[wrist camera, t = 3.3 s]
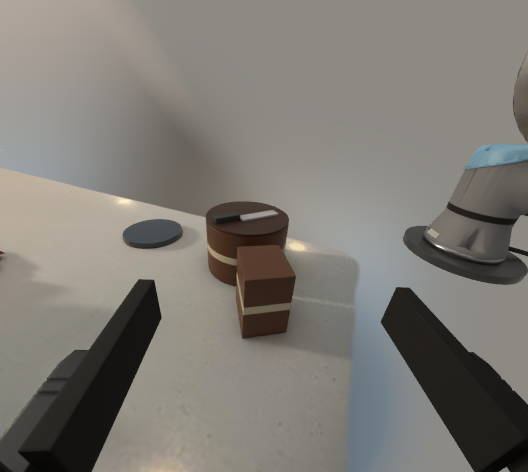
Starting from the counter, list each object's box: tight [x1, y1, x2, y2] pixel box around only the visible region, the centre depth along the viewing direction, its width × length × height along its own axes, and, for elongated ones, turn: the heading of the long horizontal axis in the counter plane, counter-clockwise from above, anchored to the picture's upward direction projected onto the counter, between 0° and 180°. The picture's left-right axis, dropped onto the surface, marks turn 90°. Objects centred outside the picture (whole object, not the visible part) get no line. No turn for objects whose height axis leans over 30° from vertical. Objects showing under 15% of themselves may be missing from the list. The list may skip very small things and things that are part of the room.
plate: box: [123, 219, 182, 248], centre depth 42 cm, size 10×10×1 cm
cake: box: [206, 202, 289, 286], centre depth 34 cm, size 12×12×9 cm
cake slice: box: [236, 245, 296, 338], centre depth 25 cm, size 6×5×8 cm
